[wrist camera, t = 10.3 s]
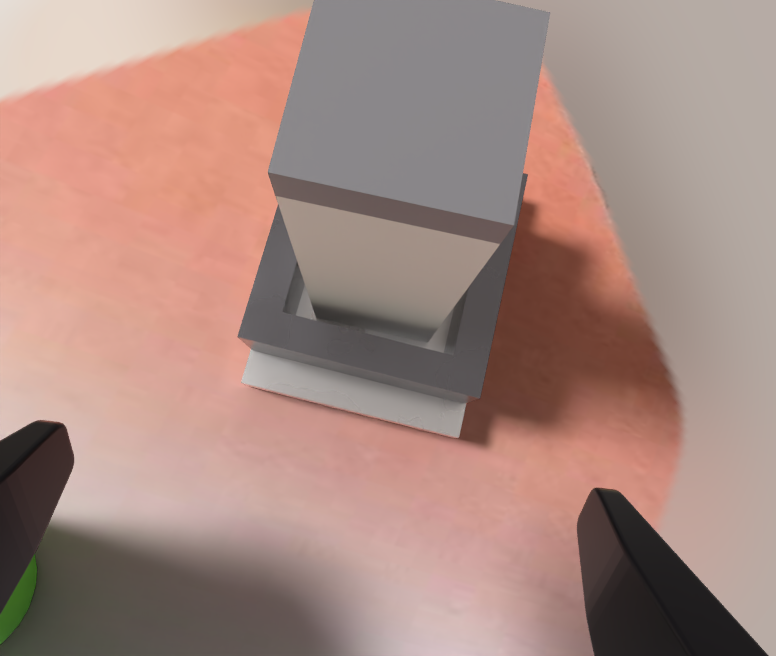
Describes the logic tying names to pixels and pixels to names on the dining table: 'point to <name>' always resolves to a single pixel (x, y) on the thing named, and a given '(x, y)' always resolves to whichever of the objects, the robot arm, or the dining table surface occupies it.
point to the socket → (370, 346)
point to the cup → (18, 602)
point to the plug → (404, 153)
